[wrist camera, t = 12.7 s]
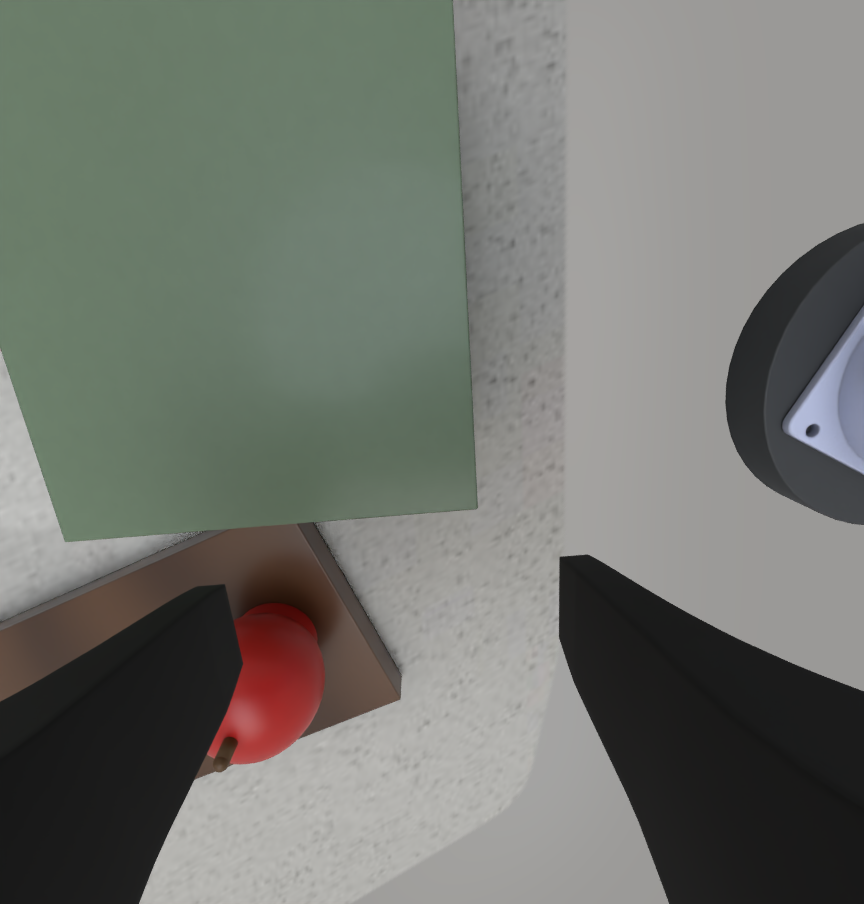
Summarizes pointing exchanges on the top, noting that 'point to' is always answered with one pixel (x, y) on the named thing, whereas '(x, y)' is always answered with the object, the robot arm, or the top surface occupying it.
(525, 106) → the top surface
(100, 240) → the cabinet
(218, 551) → the board
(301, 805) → the top surface
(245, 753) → the apple
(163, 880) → the top surface
